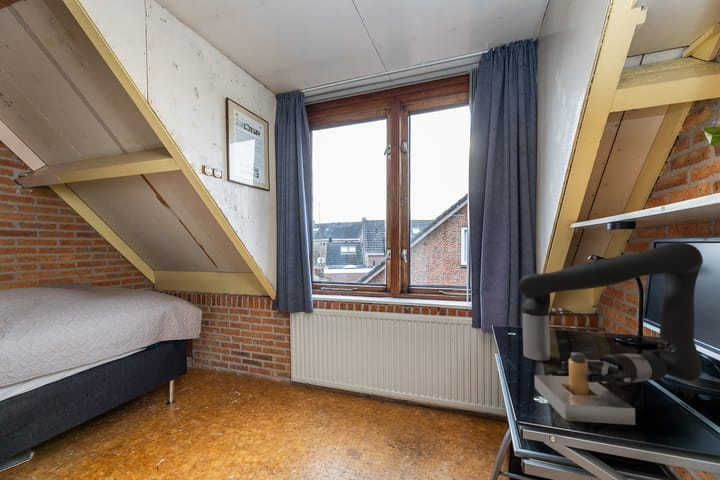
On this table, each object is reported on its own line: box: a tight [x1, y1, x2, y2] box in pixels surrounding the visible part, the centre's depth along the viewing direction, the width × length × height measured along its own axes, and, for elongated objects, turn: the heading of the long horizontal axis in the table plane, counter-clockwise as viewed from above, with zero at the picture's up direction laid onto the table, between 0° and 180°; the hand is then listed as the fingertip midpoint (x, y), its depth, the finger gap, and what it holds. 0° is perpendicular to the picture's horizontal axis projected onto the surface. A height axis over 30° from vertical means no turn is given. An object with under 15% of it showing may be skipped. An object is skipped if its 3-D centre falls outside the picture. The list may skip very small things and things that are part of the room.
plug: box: [568, 351, 589, 396], centre depth 85 cm, size 4×4×14 cm
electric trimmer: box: [545, 369, 569, 376], centre depth 102 cm, size 4×16×3 cm, turn 104°
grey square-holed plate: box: [534, 374, 636, 426], centre depth 85 cm, size 18×16×4 cm
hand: (574, 371), depth 85 cm, fingers open, 8 cm apart
